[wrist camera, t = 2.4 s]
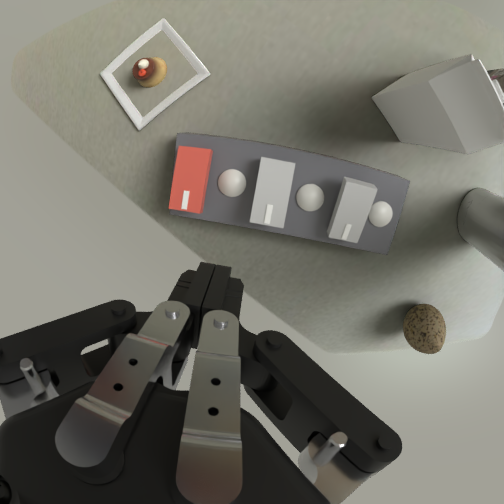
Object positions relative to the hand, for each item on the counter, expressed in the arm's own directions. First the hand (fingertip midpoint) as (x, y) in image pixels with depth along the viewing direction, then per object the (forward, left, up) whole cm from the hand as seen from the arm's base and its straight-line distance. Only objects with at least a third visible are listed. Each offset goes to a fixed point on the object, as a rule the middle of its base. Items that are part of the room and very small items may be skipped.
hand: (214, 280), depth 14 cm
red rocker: (+7, -1, -18) cm, 19 cm away
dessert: (+16, -14, -25) cm, 32 cm away
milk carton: (-18, -15, -24) cm, 33 cm away
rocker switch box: (-5, -1, -24) cm, 24 cm away
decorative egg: (-31, +15, -24) cm, 42 cm away
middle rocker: (-2, -1, -18) cm, 18 cm away
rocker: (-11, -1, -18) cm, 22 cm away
